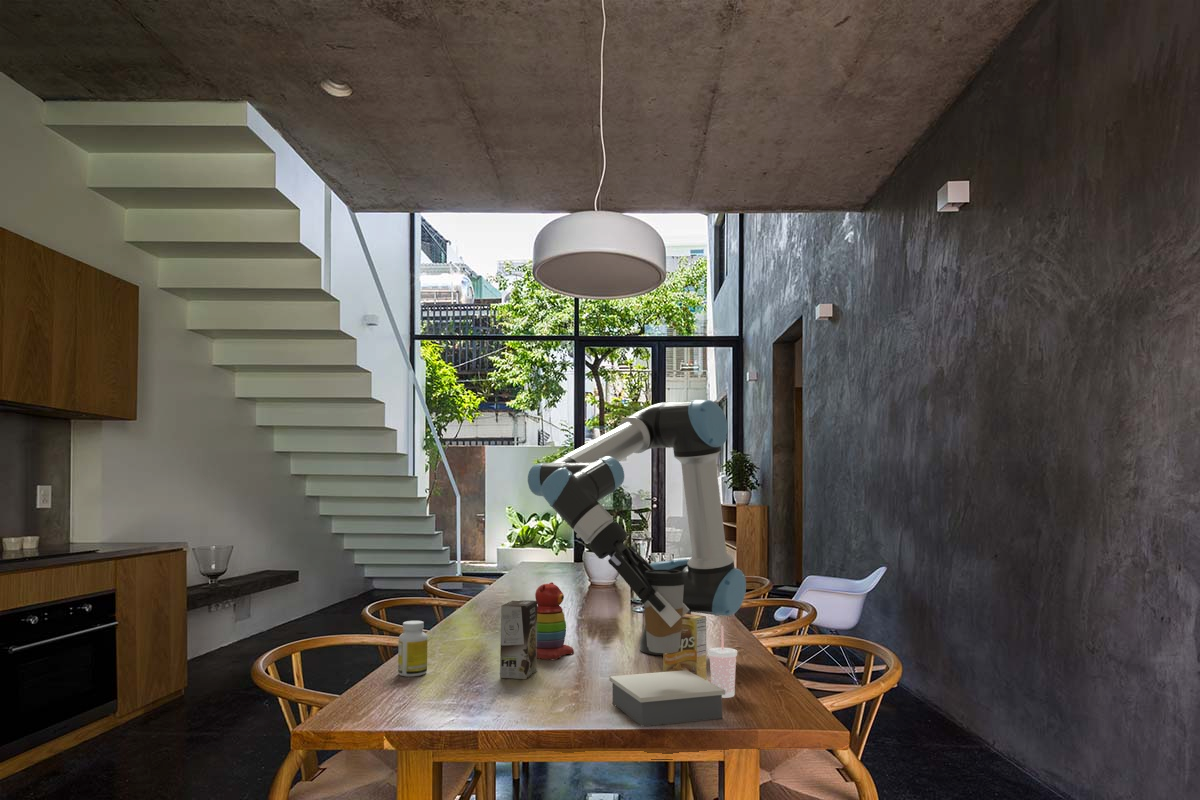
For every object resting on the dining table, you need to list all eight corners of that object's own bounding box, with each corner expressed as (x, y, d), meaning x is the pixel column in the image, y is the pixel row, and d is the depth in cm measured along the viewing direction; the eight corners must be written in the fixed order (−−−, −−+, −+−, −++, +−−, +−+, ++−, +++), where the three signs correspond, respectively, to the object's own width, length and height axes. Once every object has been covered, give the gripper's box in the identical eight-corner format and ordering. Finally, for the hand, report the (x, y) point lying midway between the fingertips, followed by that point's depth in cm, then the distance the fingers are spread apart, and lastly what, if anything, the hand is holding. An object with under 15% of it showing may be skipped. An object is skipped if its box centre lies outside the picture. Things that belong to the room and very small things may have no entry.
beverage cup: (719, 700, 167) (718, 629, 168) (702, 693, 172) (701, 624, 174) (744, 696, 170) (743, 626, 171) (726, 689, 175) (725, 622, 176)
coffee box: (526, 679, 184) (527, 605, 185) (499, 678, 185) (499, 605, 186) (537, 670, 192) (538, 600, 194) (511, 669, 194) (512, 599, 195)
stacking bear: (553, 661, 202) (554, 587, 204) (520, 656, 207) (520, 584, 209) (576, 652, 212) (577, 582, 213) (544, 648, 217) (544, 579, 218)
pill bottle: (432, 674, 189) (433, 622, 190) (408, 679, 184) (409, 625, 185) (416, 669, 193) (417, 618, 194) (392, 674, 189) (393, 622, 190)
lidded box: (687, 695, 170) (686, 670, 170) (725, 718, 154) (725, 690, 154) (609, 703, 165) (609, 676, 165) (640, 727, 149) (640, 697, 149)
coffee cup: (689, 647, 163) (689, 570, 164) (679, 656, 155) (679, 574, 156) (648, 644, 165) (648, 568, 167) (636, 652, 157) (636, 572, 159)
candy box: (662, 686, 178) (661, 613, 180) (673, 682, 181) (673, 611, 183) (696, 693, 172) (696, 618, 174) (707, 689, 176) (707, 615, 177)
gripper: (602, 542, 176) (677, 622, 170) (572, 549, 156) (655, 641, 150) (627, 517, 175) (702, 597, 169) (599, 522, 155) (684, 613, 149)
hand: (680, 618), depth 160 cm, fingers closed on coffee cup, 8 cm apart
